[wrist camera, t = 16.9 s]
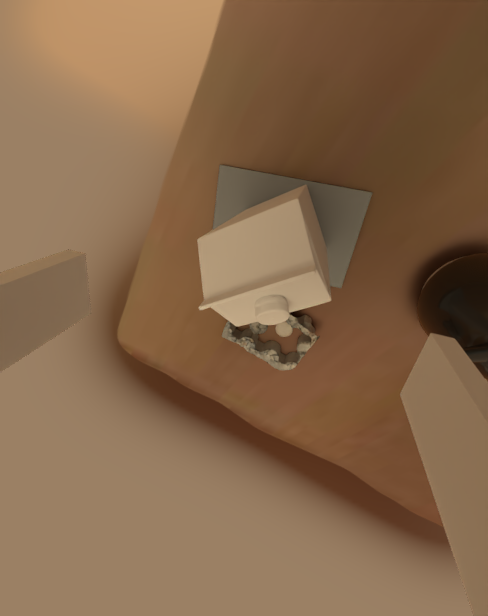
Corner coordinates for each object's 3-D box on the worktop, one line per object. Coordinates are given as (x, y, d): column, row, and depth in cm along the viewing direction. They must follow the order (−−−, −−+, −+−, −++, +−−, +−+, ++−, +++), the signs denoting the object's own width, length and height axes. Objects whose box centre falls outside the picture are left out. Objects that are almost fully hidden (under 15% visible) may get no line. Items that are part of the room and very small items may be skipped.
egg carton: (323, 322, 39) (324, 339, 35) (291, 362, 42) (289, 380, 38) (251, 278, 38) (244, 291, 34) (224, 322, 42) (216, 337, 38)
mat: (371, 192, 31) (372, 192, 30) (340, 286, 36) (341, 288, 35) (221, 164, 33) (219, 164, 33) (211, 257, 38) (209, 258, 37)
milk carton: (244, 209, 34) (171, 253, 17) (306, 183, 31) (292, 205, 15) (267, 268, 36) (222, 357, 19) (326, 248, 34) (334, 330, 17)
